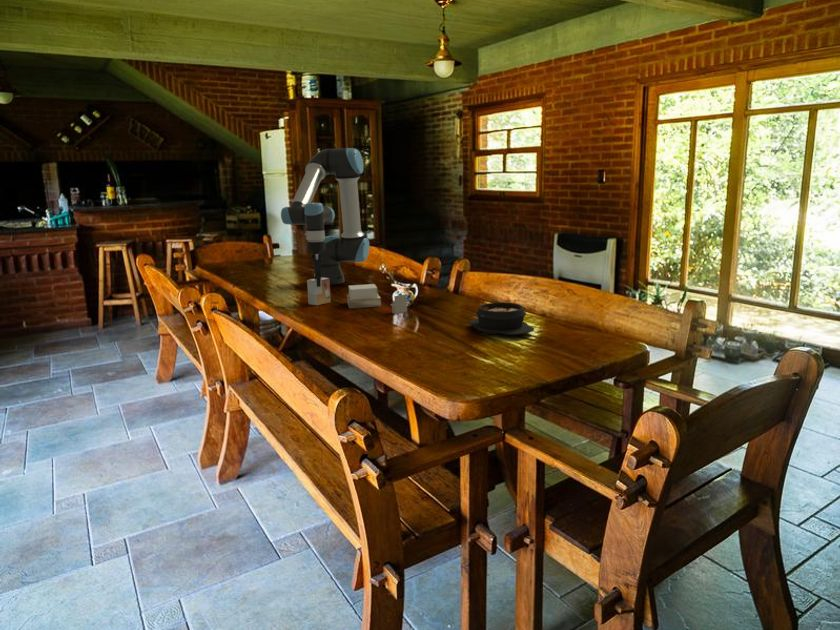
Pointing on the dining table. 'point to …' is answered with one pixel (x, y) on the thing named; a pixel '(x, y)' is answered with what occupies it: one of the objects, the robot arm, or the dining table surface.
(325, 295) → the small box
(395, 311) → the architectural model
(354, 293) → the tower top slab
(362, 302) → the tower base slab
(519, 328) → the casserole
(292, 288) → the dining table surface
